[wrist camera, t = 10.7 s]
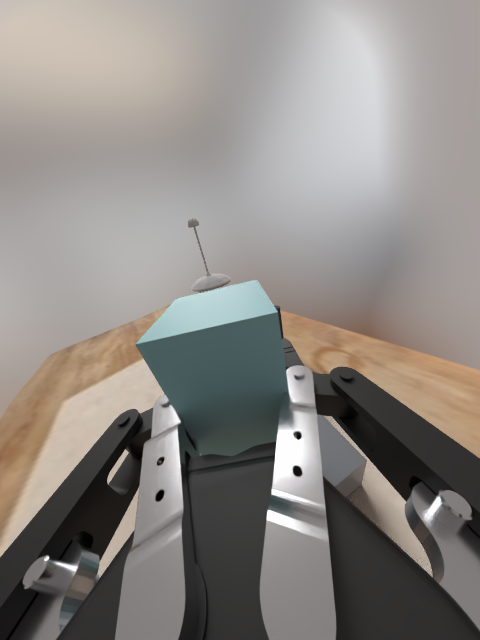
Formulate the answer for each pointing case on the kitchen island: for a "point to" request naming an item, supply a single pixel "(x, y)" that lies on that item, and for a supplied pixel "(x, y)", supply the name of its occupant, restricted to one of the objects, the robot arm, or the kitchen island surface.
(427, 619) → the robot arm
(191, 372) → the teal block
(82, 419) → the kitchen island surface
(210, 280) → the french press
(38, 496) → the kitchen island surface
